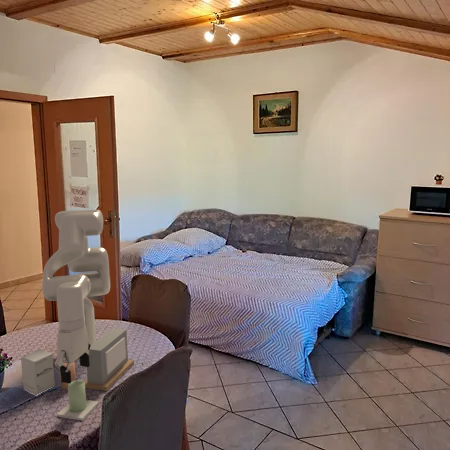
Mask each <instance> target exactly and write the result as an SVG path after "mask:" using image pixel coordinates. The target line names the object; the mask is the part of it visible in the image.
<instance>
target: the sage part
mask: <svg viewBox="0 0 450 450" xmlns="http://www.w3.org/2000/svg"><path fill="white" fill-rule="evenodd" d="M67 390H68V403H69V408H70V411H71V412H73V413H77V412H81V411H83V410H85V409H86V400H87V396H86V388H85V382H84V380H83V379H82V380H81V379H78V380H77V379H76V381H73V382H71V383H69V384H68V389H67Z"/></svg>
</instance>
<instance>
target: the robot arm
mask: <svg viewBox="0 0 450 450" xmlns="http://www.w3.org/2000/svg"><path fill="white" fill-rule="evenodd" d="M54 223H55V225H56V227H57V229H58V230H59V231H58V249H57V251H56V252H54V253H53V254H52V255H51V256H50V257H49V259H48V260H47V261H46V263H45V265H44V267H43V273H42V281H41V282H42V283H41V284H42V285H41V286H42V287H41V289H42V295H43V297H44V299H45V300H47V301H49V302H50V301H51V302H54V301H55V302H56V306H57V307H56V308H57V319H58V320H57V321H58V329H59V330H58V331H57V338H56V356H57V357H56V360H55V361H54V365H55V367H56V370H58V372H59V374H60V373H61V381H60V383H61V382H63V383H71V371H70V370H69V369H70V365H71V363H72V362H74V363H75V362H76V361H77V359H79V366H80V367H83V368H87V367H89V366H90V363H89V354H90V351H89V349H90V347H91V344H92V343H94V342H95V341H96V340H97V339H98V338H96V336H97V335H96V323H95V307H94V305H93V302H92V301H91V300H90V299H89V297H97V296H105V295H107V294H109V292H110V291H111V275H110V273H111V272H110V262H109V261H110V260H109V259H110V258H109V255H108V251H107V250H106V248H104V247H98V246H97V247H89V238H88V237H89V236H99V235H101V234H102V233H103V230H104V215H103V213H102V211H101V210H100V209H74V210H73V209H72V210H62V211H59V212H57V213H56V214H55V215H54ZM66 265H67V268H68V269H69V271H70V272H72V273H76V274H70V275H58V276H54V274H55V273H56V272H57V271H58V270H59V269H61V268H62V267H64V266H66ZM64 363H67V366H66V367H65V366H64Z"/></svg>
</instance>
